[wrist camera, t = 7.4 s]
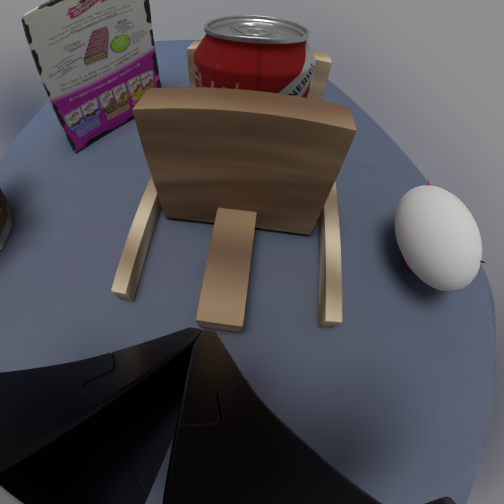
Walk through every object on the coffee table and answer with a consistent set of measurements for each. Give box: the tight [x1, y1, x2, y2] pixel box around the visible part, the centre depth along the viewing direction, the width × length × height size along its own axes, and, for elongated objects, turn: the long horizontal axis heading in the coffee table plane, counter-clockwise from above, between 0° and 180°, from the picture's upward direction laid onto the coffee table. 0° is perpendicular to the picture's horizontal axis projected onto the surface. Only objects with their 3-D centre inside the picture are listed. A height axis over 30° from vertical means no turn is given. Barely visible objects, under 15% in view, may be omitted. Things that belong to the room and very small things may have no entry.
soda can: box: [193, 15, 316, 98], centre depth 16 cm, size 7×7×12 cm
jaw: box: [132, 87, 356, 333], centre depth 13 cm, size 9×10×9 cm
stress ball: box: [395, 181, 485, 291], centre depth 16 cm, size 8×8×7 cm
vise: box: [111, 41, 342, 327], centre depth 16 cm, size 18×13×9 cm
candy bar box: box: [21, 0, 161, 153], centre depth 17 cm, size 11×5×16 cm, turn 133°
